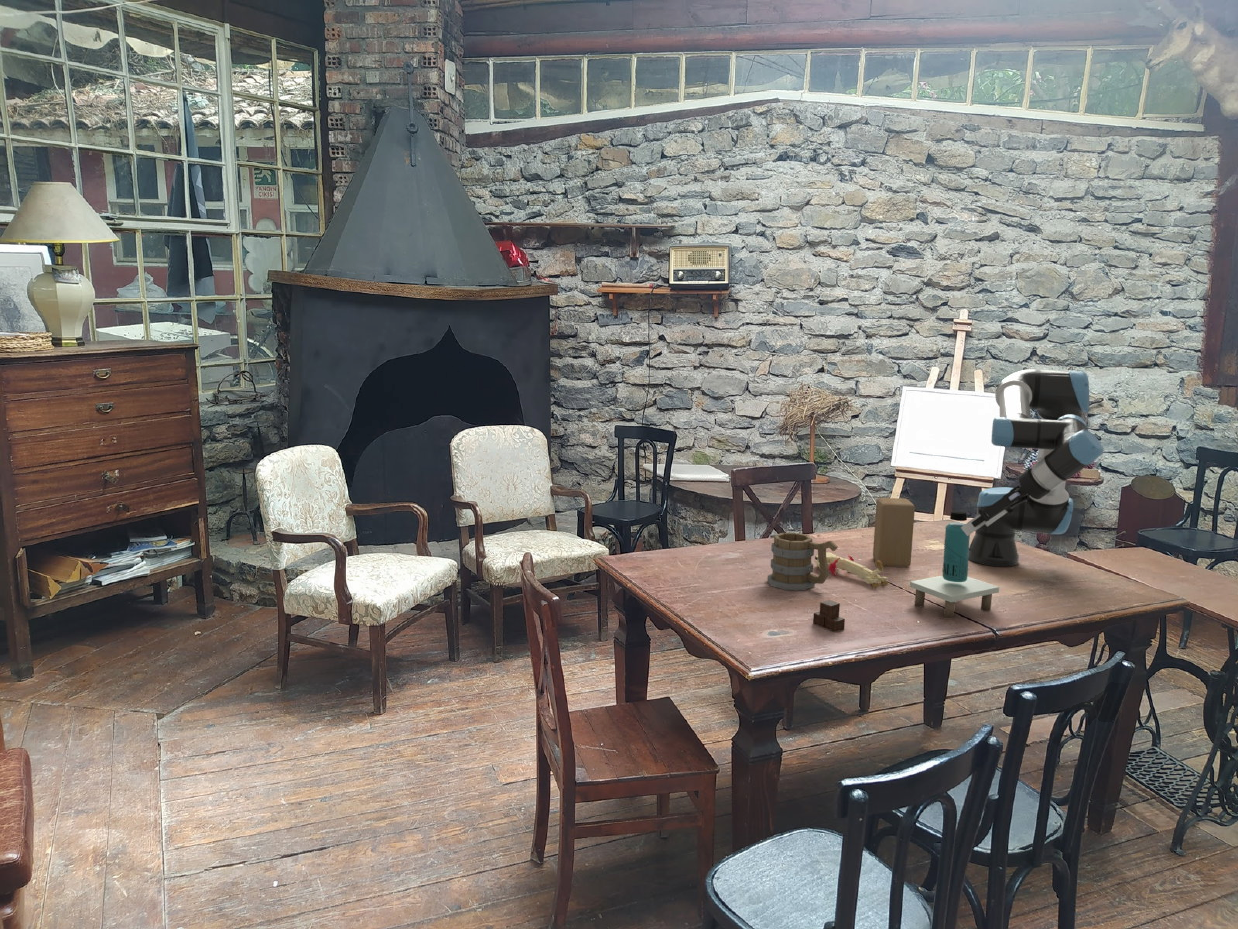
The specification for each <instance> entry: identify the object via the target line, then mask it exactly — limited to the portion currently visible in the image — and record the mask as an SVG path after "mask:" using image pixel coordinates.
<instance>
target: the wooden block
mask: <svg viewBox="0 0 1238 929" xmlns="http://www.w3.org/2000/svg"><path fill="white" fill-rule="evenodd" d="M915 510H916V507H915V505H914V504H913V502H911V501H910V500H909V499H908V498H898V497H897V498H893V497H891V498H890V497H879V498H877V499H876V507H875V520H874V533H873V548H872V557H873V559H874V561H875V562H876V561H878V560H879V561H881V563H882V565H883V567H892V568H894V567H895V568H909V567H910V566H911V563H912V549H913V537H914V524H915V523H914V522H915V513H916V511H915Z"/></svg>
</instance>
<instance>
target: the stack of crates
mask: <svg viewBox="0 0 1238 929" xmlns="http://www.w3.org/2000/svg"><path fill="white" fill-rule="evenodd" d="M840 605H841V604H840V603H839V602H837V601H834V600H831V599H826V600H824V601H823V600H822V601H820V602H819V611H815V612H813V618H812V619H813V620H812V625H816V626H818V627H820V628H823V629H826V630H828V631H830V632H834V633H836V632H840V631H844V630H845V623H846V622H845V621H846V619H845V618H843V617H842V616H840V609H841V606H840Z"/></svg>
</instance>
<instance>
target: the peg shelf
mask: <svg viewBox="0 0 1238 929" xmlns="http://www.w3.org/2000/svg"><path fill="white" fill-rule="evenodd" d="M909 588H912V589H914V590H915V595H914V596H915V598H914V606H915V607H917V608H924V607H925V599H926V598H925V597H926V594H928V595H930V596H933V597H936V598H938V599H941V600H943V601H944V613H943V614H944V615H943V618H945V619H947V620H953V619H954V618H955V610H956V609H955V608H956V602H960V601H965V600H969V599H970V600H971V599H973V598H979V597H981V603H980V610H982V611H985V612H989V611H991V608H992V607H991V606H992V598H993V597H992V596H993V594H998V593H999V592H1000V586H998V585H995V584H991V583H988V582H985V581H983V580H979V579H976V578H974V577H970V576H969V575H967V580H966V581H965V582H951V581H947V580H945V579H944V578H943V576H942V575H938V576H937V575H936V576H933V577H927V578H922V579H916V580H911V581H910V582H909Z"/></svg>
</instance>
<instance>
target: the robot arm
mask: <svg viewBox="0 0 1238 929" xmlns="http://www.w3.org/2000/svg"><path fill="white" fill-rule="evenodd" d="M995 401H996V403H997V404H996V405H998V407H999V416H998V417H997V416H996V417H994V418H993V421H992V427H991V429H992V430H991V439H990V440H991V444H992V445H993V446H996V447H1004V448H1014V449H1015V448H1018V449H1036V450H1038V451H1037V459H1036V463H1035V464H1033V465H1032V466H1031V467H1029V468H1027V469H1026V470H1024V471H1023V472H1022V473H1021V474H1019V475H1018V477H1017V478H1018V479H1017V481H1018V483H1019V485H1018V486H1016V487H1009V486H1005V487H1002V486H1000V487H991V488H986V489H983V490H981V491H980V493H979V494H978V499H977V500H978V502H977V504H976V507H977V511H976V515H975V516H974V517H973V518H972V519H971V520H969V521H968V522H966V523H964V524H965V525H963V526H962V527H961V529H962V530H963V531H964V532H965V534H966V535H967V536H969V535H972V534H973V533H974V536H973V538H972V541H971V543H970V544H969V554H968V561H971V562H974V563H977V564H980V565H985V566H990V567H1013V566H1017V565H1018V564H1019V558H1020V557H1019V553H1018V549H1017V544H1016V543H1017V542H1016V539H1015V537H1016V531H1018V532H1019V531H1020V532H1027V533H1040V534H1047V535H1063V534H1065V533H1066V532H1067V531H1068V529H1069V527H1070V523H1071V521H1072V518H1073V517H1072V516H1073V511H1074V500H1073V498H1071V497H1070V494H1069V492H1068V491H1067V490H1066V483H1067V481H1068V480H1069V479H1071V478H1072V477H1073V476H1075V475H1076V474H1078V473H1079V472H1081V471H1082V470H1083V469H1085V468H1086V467H1088V466H1090V465H1092V464H1093V463H1095V461H1096V460H1097V459H1098V458H1100V457H1101V456H1102V455H1103V453H1104V447H1103V445H1102V444H1101V442H1100V440H1099V439H1098V438H1097V437H1096V436H1095V435H1094V434H1093V433H1092V432H1090V431H1089V428H1088V425H1087V424H1086V422H1085V420H1084V419H1083V418H1082V417H1083V414H1084V413H1088V412H1089V411H1090V384H1089V375H1088V374H1087V373H1086V372H1084V371H1082V370H1081V371H1080V370H1072V369H1069V370H1065V369H1063V370H1062V369H1040V368H1039V369H1038V368H1037V369H1036V368H1027V369H1023V370H1019V371H1016V372H1012V373H1010V374H1009V375H1007V376H1005V378H1003V379H1002V380H1001V382H999V384H998V385H997V387H996V389H995ZM1031 410H1037V416H1038V417H1039V419H1038V418H1032V416H1031ZM1040 418H1041V419H1040Z"/></svg>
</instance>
